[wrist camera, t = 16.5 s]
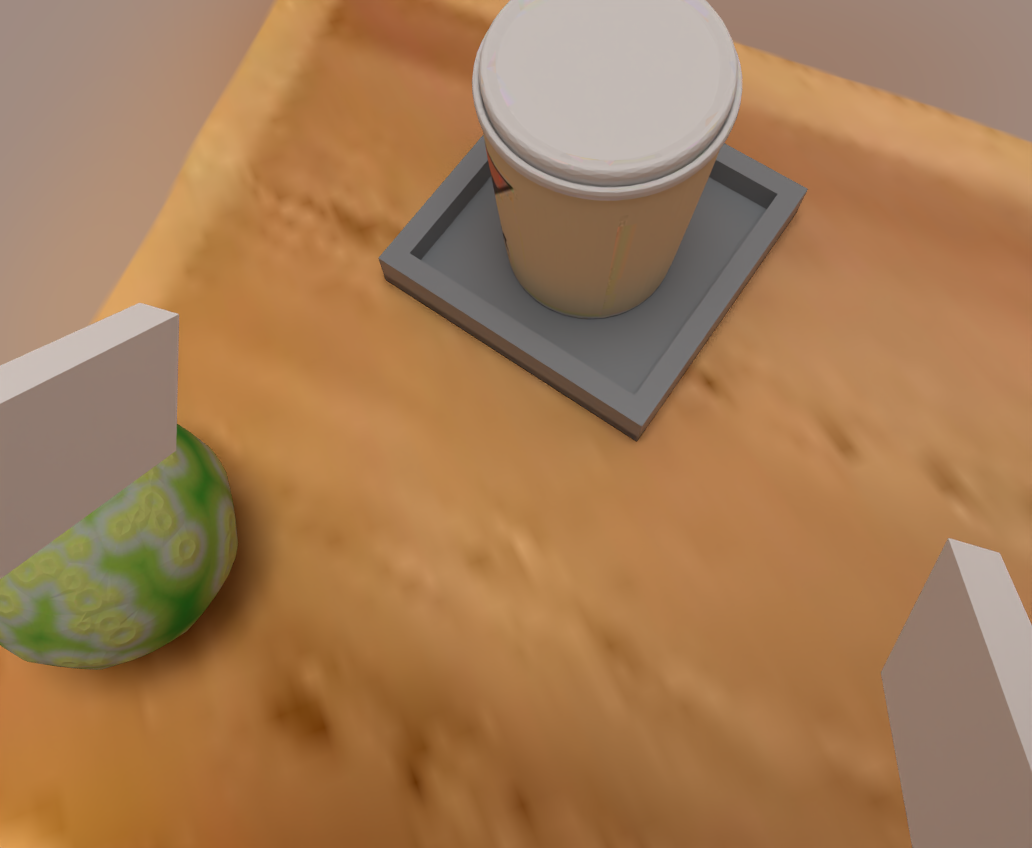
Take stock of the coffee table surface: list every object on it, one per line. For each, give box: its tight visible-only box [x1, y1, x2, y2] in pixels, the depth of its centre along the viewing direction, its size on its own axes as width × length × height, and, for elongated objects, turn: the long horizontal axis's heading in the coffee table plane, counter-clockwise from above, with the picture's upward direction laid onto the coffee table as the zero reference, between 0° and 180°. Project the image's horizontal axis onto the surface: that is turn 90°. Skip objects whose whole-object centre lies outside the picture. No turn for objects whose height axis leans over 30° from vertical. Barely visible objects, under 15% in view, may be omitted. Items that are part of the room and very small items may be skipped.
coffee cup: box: [472, 0, 742, 319], centre depth 36 cm, size 9×9×12 cm
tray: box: [379, 135, 808, 441], centre depth 41 cm, size 14×14×2 cm
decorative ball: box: [0, 424, 238, 670], centre depth 33 cm, size 10×10×10 cm
